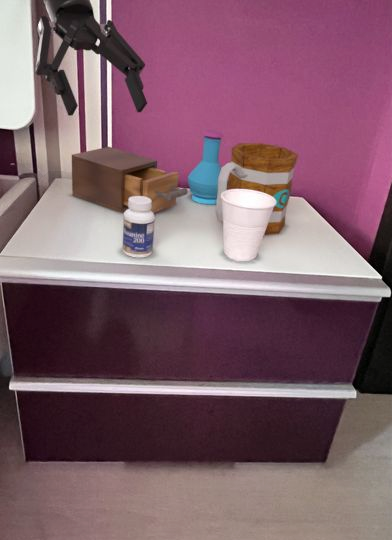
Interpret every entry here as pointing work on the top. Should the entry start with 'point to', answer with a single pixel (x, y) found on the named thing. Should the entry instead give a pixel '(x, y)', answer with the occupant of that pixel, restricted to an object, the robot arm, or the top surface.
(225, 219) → the cup
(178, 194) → the drawer
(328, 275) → the top surface
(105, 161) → the cabinet
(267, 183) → the mug
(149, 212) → the pill bottle
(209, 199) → the perfume bottle
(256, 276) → the top surface
